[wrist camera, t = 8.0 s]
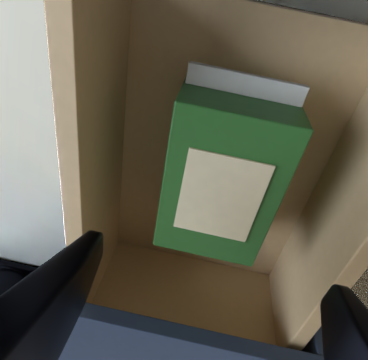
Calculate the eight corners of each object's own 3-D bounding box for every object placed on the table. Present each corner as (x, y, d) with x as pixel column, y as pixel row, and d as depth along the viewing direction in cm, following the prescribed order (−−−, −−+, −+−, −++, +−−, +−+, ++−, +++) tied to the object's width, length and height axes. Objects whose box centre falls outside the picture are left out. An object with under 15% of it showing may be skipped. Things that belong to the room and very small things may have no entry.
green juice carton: (245, 219, 18) (247, 279, 15) (166, 202, 18) (150, 258, 15) (302, 71, 13) (326, 109, 10) (192, 48, 13) (177, 77, 10)
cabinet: (99, 195, 22) (32, 306, 15) (305, 240, 21) (338, 375, 14) (98, 336, 33) (61, 437, 26) (232, 367, 33) (231, 477, 26)
